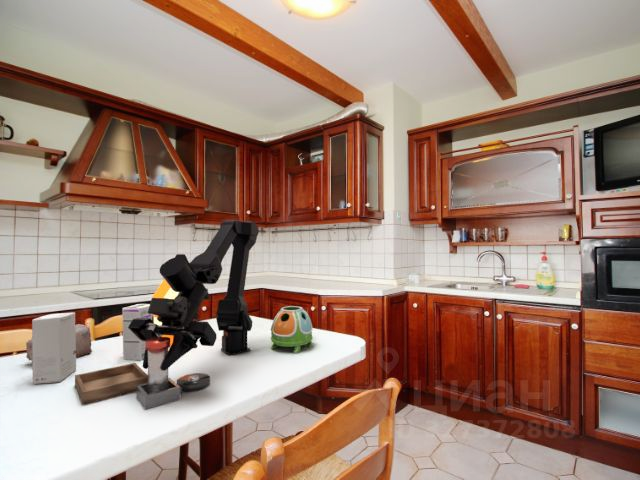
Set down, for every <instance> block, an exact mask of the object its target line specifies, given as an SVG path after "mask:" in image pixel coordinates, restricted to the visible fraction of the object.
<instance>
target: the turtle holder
mask: <svg viewBox="0 0 640 480" xmlns="http://www.w3.org/2000/svg"><path fill="white" fill-rule="evenodd" d="M270 332H271V333H270V335H271V337H270V340H271V342H272V345H271V346H270V349H271V350H274V349H277V348H278V346H280V347H284V348H285V347H286V348H288V347H294V349H293V352H292V353H294V354H297V353H298V354H299V353H300V351H301V346H305V345H307V347H308V348H309V347H313V345H314V344H313V342H312V340H313V335H312V333H313V323H312V320H311V318H310V316H309V312H308V311H306V310H305V309H304V308H303V307H302V306H297V305H296V306H295V305H293V306H292V305H289V306H284V307H281V308H280V310H279V311H278V312H277V314H276V315H275V317H274V319H273V320H272V323H271V327H270Z"/></svg>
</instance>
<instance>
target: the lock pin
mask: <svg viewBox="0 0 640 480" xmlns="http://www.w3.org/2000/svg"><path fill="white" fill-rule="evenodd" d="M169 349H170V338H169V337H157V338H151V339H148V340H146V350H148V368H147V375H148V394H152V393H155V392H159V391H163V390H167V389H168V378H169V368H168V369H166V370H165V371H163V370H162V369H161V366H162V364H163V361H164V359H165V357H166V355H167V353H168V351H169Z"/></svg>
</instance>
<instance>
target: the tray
mask: <svg viewBox="0 0 640 480" xmlns="http://www.w3.org/2000/svg"><path fill="white" fill-rule="evenodd" d="M147 383H148V373H146V372H145V370H143V369H142V368H141V367H140V366H139V365H138V364H137V363H136V362H133V363H128V364H123V365H118V366H112V367H108V368H103V369H97V370H93V371H89V372H84V373H79V374H75V375H74V387H75V390H76V392H77V393H76V394H77V395H78V398H79V400H80V402H81V405H82V406H85V405H90V404H92V403H97V402H100V401H105V400H108V399H112V398H116V397H120V396H124V395H128V394H133V393H136V386H138V385H142V384H147Z"/></svg>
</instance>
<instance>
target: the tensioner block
mask: <svg viewBox="0 0 640 480" xmlns="http://www.w3.org/2000/svg"><path fill="white" fill-rule="evenodd" d="M210 384H211V376H210V375H209V374H207V373H204V372H201V373H200V372H198V373H197V372H196V373H189V374H185V375H183V376H180V377H178V378H177V379H176V382H175V381H174V380H173V379H172V378H170V377H168V389H167V390H163V391H159V392H155V393H152V394H148V383H147V384H142V385H138V386H136V392H135V393H136V397H135V398H136V399H137V401H138V402H139V404H140V405H141V406H142V408H143V409H144V410H148V409H152V408H156V407H159V406H162V405H166V404H169V403H172V402H176V401H179V400H181V393H183V392H184V393H191V392H192V393H193V392H198V391H201V390H204V389H206V388H208V387H209V386H210Z"/></svg>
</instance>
